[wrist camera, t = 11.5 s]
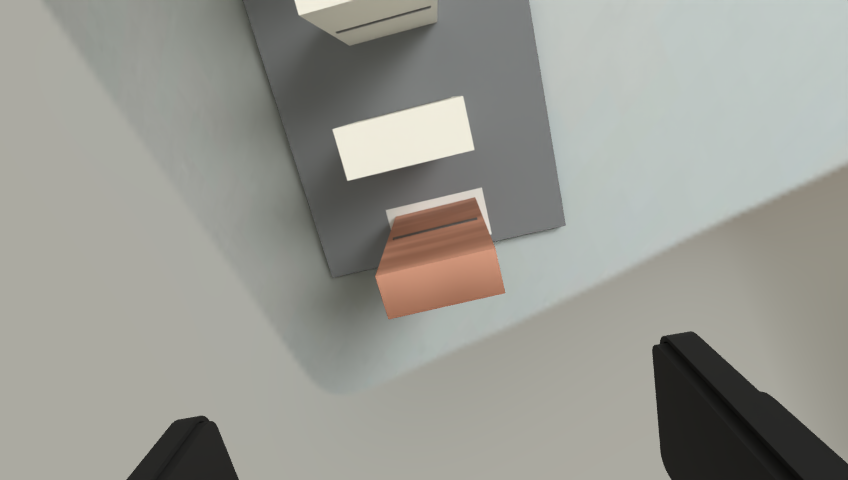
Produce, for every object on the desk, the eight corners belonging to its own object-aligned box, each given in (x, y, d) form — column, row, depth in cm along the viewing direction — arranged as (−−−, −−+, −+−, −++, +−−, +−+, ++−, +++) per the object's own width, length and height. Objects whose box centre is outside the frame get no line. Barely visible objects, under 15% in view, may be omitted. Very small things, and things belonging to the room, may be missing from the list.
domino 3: (395, 216, 29) (374, 275, 19) (475, 196, 28) (494, 247, 19) (404, 247, 29) (388, 320, 20) (482, 228, 29) (505, 294, 19)
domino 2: (368, 117, 27) (331, 127, 17) (453, 95, 27) (462, 94, 17) (378, 152, 28) (347, 182, 18) (461, 132, 27) (475, 151, 18)
